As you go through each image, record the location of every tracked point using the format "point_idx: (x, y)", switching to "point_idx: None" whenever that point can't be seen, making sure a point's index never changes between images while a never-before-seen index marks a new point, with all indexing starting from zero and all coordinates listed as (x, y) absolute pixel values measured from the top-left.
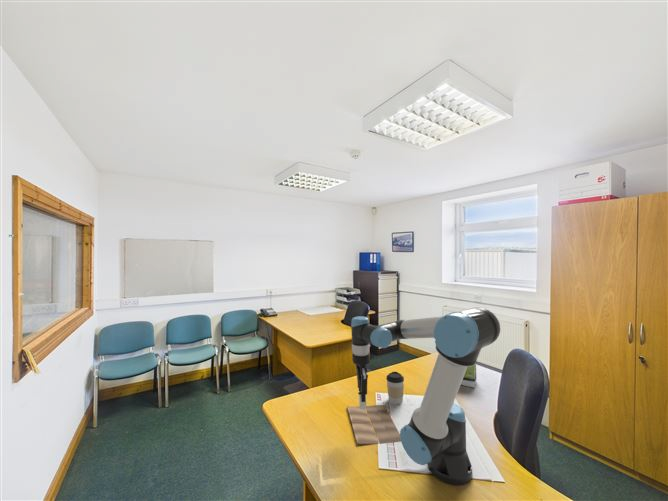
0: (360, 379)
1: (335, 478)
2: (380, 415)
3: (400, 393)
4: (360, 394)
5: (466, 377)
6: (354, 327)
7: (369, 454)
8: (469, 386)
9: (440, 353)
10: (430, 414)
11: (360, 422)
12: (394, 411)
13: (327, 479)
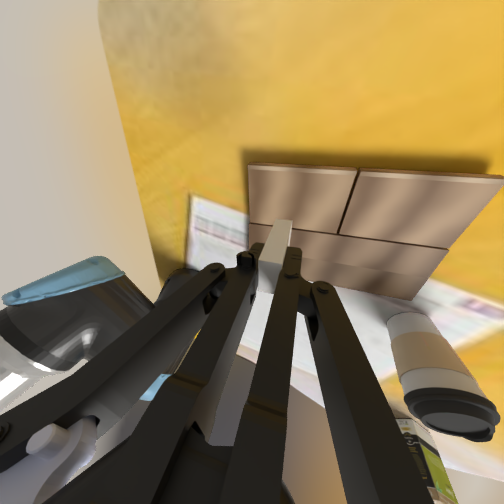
0: (181, 369)
1: (151, 67)
2: (361, 269)
3: (394, 357)
4: (259, 261)
5: None
6: None
7: (228, 188)
8: None
9: None
10: None
11: (351, 203)
12: (370, 303)
13: (143, 33)
